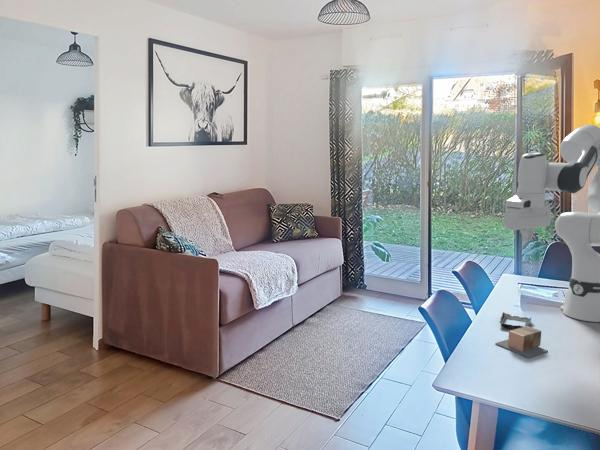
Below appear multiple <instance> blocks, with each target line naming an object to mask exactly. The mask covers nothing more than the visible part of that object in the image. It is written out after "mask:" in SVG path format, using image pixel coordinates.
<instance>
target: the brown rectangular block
mask: <svg viewBox="0 0 600 450" xmlns="http://www.w3.org/2000/svg"><path fill="white" fill-rule="evenodd" d="M541 339H542V330H540V329H537V328H534V327H531V326H529V325H528V326H526V327H525V326H523V327H522V328H518V329H515V330H508V338H507V340H508V346H510V347H512V348H514V349H517V350H519V351H521V352H522V351H525V350H528V349H532V348H535V347H541V342H542V341H541Z"/></svg>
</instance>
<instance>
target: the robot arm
mask: <svg viewBox="0 0 600 450" xmlns="http://www.w3.org/2000/svg"><path fill="white" fill-rule="evenodd" d="M559 153H560V157H561V158H562V159H563V160H564V162H551V161H548V160H547V154H546V153H544V152H538V151H537V152H535V151H533V152H527V153H524V154H523V155H521V157H520V161H519V163H518V170H517V184H518V186H517V188H516V193H515V195H513V196H512V197H510V198H508V199H506V200H505V207H507V208H506V209H505V212H504V220H503V221H504V222H503V225H504V228H505V229H506V230H508V231H520V232H519V233H520V234H521V241H522V242H525V243H526V242H531V241H533V236H534V234H535V231H536V228H537V229H538V228H544V227H549V226H550V225H551V222H552V209H551V206H550V202H549V201H548V199H546V191H550V192H551V191H553V192H563V193H570V194H576V193H578V192H580V191H581V190H582V189H583V188H584V187H585V185H586V183H587V180H588V177H589V175H590V173H591V172H592V170H593V168H594V167H597V170H596V172H595V175H594V176H593V178H592V180H591V183H590V186H589V190H588V193H587V195H586V198H585V202H586V205H587V206H588V207H587V208H589V209H590V210H591V211H593V212H585V211H584V212H582V211H568V212H567V211H566V212H562V213H561V214H560V215H559V216H557V218H556V220H555V222H554V231H555V232H556V235H558V237H559V238H561V239H562V241H564V243H565V244H566V245H567V246H568V249H569V251H570V254H571V257H572V258H571V259H572V264H571V265H572V266H571V267H572V268H571V276H570V277H569V288H566V291H565V296H564V300H563V305H561V306H560V309H561V310H562V313H563V314H564V315H565V316H568V317H570V318H571V319H574V320H579V321H585V322H595V323H600V253H599V252H597V251H595V249H594V248H593V246H592V244H595V245H600V127H599V126H597V125H595V124H585V125H583V126H580V127H578V128H576V129H574V130H573V131H571V132H570V133H569V134H568V135H567V136H566V137H564V138H563V140H561V143H560V145H559Z"/></svg>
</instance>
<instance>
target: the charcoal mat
mask: <svg viewBox="0 0 600 450" xmlns="http://www.w3.org/2000/svg"><path fill="white" fill-rule="evenodd" d="M494 345H496V346H499V347H501V348H503V349H506V350H508V351H510V352H513V353H515V354H518V355H520V356H522V357H525V358H527V359H530V358H534V357H536V356H539V355H542V354H545V353H548V351H549V350H548V349H545V348H542V347H541V346H538V347H535V348H532V349H528V350H525V351H522V352H521V351H519V350H517V349H514V348H512V347H510V346H508V339H504V340H501V341H498V342H495V344H494Z"/></svg>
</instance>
